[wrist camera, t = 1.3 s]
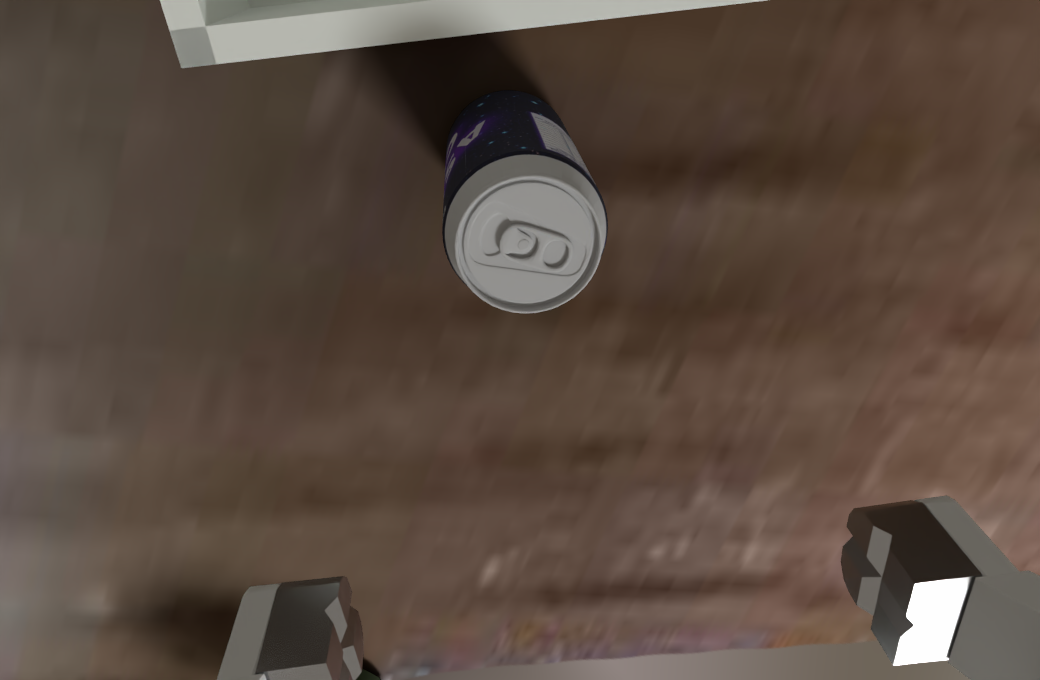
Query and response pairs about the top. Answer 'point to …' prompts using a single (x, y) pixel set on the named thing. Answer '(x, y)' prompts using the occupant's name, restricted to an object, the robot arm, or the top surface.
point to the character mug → (367, 676)
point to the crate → (370, 22)
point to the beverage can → (519, 205)
